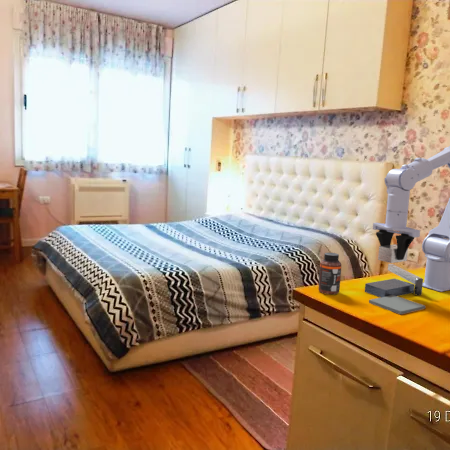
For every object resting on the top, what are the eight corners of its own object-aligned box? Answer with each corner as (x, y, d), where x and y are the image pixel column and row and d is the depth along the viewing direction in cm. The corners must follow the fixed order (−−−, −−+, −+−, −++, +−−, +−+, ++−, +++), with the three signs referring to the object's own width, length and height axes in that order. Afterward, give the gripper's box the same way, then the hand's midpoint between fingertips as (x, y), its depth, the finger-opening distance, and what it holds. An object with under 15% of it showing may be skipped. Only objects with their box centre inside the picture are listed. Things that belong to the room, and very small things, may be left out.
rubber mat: (392, 297, 125) (393, 295, 125) (425, 308, 116) (425, 305, 116) (368, 302, 119) (369, 299, 119) (400, 314, 111) (400, 311, 111)
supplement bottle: (339, 296, 125) (342, 256, 123) (318, 294, 126) (321, 255, 124) (338, 290, 130) (341, 252, 129) (318, 288, 131) (320, 250, 130)
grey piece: (393, 286, 136) (394, 278, 136) (413, 292, 130) (414, 284, 130) (364, 291, 129) (365, 283, 129) (384, 298, 124) (385, 290, 123)
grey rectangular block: (393, 257, 132) (394, 244, 131) (406, 260, 128) (408, 247, 128) (377, 259, 128) (379, 246, 128) (390, 263, 125) (392, 249, 124)
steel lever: (391, 278, 145) (393, 264, 144) (422, 295, 127) (424, 279, 127) (386, 278, 145) (387, 264, 144) (416, 295, 127) (418, 279, 126)
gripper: (367, 208, 130) (363, 253, 132) (410, 215, 118) (405, 264, 120) (383, 207, 134) (379, 251, 136) (426, 214, 122) (421, 262, 124)
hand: (392, 257), depth 128 cm, fingers closed on grey rectangular block, 4 cm apart
